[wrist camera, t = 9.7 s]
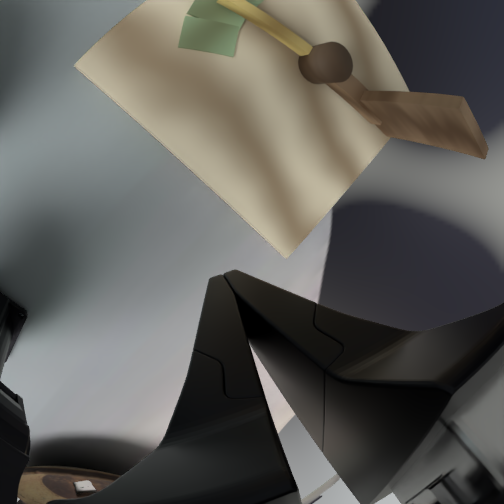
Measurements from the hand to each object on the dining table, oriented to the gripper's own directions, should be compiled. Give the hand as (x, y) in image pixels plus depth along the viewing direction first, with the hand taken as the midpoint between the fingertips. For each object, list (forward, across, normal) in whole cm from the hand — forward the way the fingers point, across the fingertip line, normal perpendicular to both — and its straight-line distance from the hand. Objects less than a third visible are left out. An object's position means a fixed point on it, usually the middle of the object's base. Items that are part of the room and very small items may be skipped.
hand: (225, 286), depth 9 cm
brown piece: (+12, -12, -7) cm, 18 cm away
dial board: (+13, -10, -6) cm, 18 cm away
